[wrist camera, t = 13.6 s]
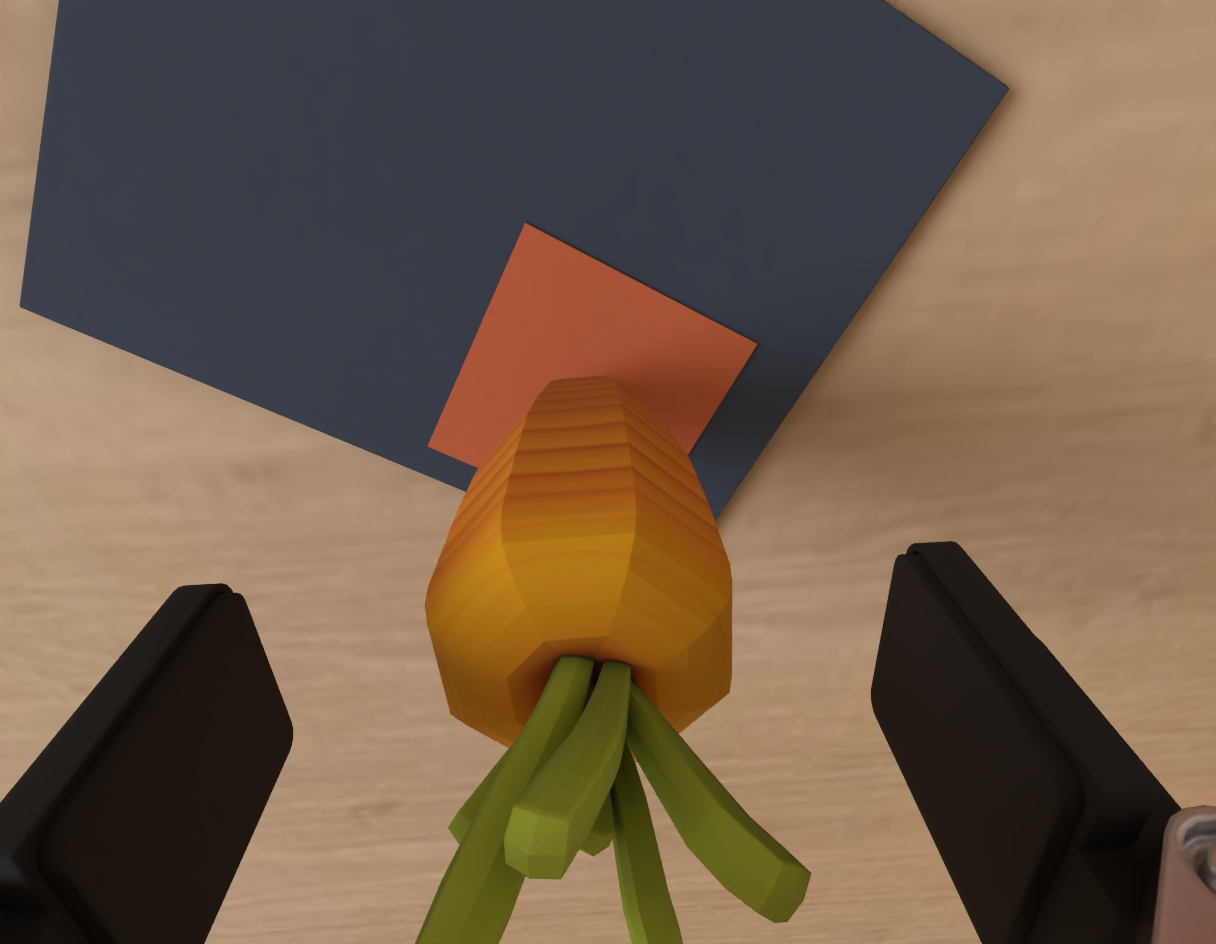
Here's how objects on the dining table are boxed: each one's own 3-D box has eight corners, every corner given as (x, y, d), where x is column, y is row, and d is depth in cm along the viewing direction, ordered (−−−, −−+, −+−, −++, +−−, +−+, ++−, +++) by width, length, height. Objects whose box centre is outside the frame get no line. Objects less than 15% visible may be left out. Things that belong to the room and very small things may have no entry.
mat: (31, 302, 19) (15, 308, 18) (142, -505, 12) (121, -534, 12) (674, 570, 23) (676, 581, 23) (1000, 88, 17) (1013, 87, 16)
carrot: (699, 338, 19) (954, 875, 6) (640, 490, 21) (726, 1132, 8) (523, 283, 18) (346, 760, 5) (481, 446, 20) (278, 1082, 7)
